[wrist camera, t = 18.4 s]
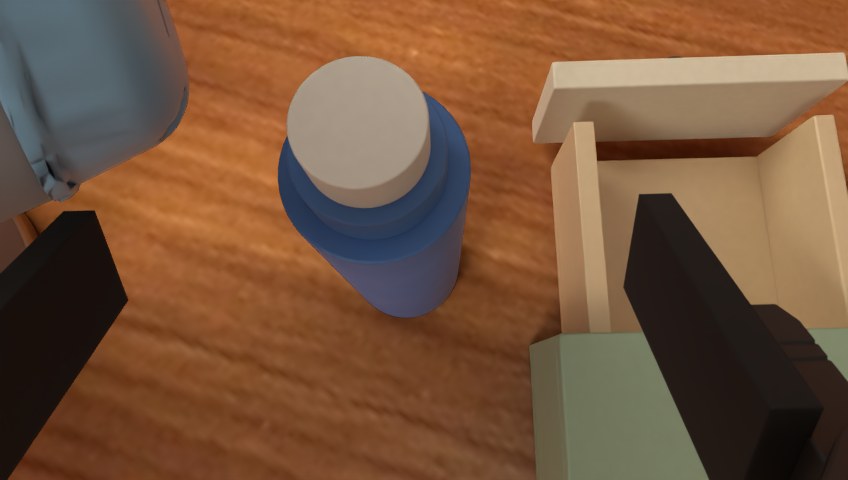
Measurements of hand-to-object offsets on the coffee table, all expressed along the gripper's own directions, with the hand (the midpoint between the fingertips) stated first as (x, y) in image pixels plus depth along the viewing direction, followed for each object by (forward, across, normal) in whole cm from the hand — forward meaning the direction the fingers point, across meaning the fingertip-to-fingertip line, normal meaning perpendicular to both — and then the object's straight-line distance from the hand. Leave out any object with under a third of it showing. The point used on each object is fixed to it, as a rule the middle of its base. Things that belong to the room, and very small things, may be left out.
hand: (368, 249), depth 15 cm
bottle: (+12, 0, -8) cm, 14 cm away
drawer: (+12, +12, -7) cm, 18 cm away
